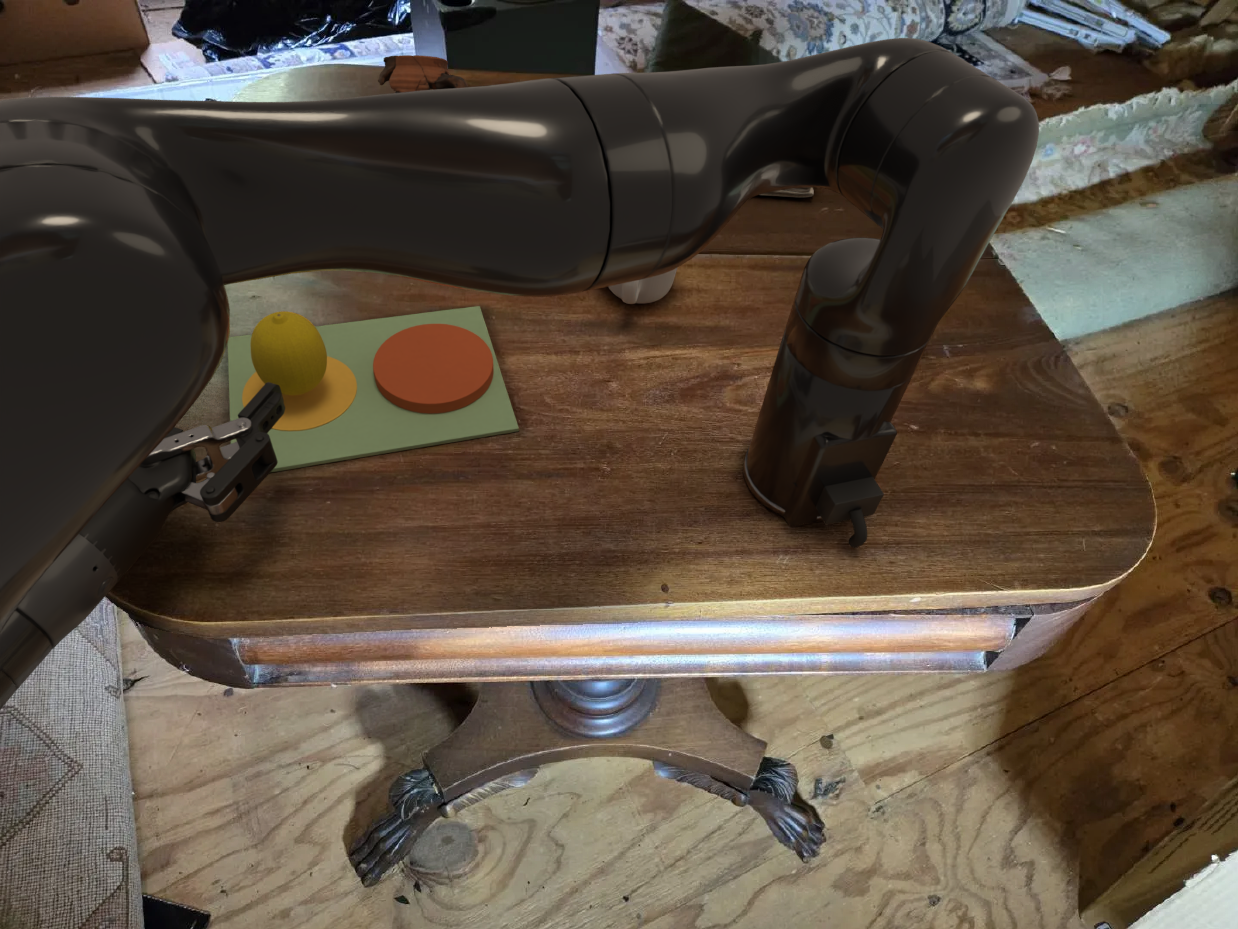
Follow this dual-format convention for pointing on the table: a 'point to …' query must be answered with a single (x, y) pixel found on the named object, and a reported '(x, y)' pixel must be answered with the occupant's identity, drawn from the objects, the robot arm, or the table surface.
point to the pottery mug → (418, 74)
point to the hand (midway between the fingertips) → (223, 374)
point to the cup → (645, 288)
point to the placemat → (386, 389)
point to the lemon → (288, 352)
